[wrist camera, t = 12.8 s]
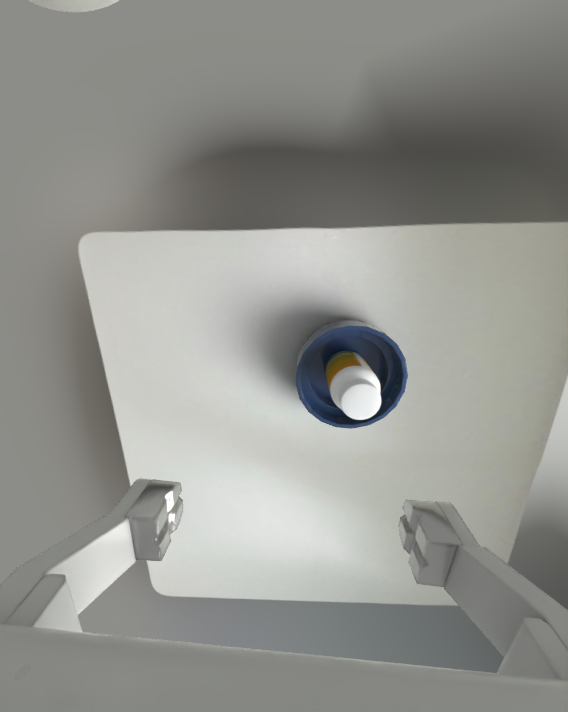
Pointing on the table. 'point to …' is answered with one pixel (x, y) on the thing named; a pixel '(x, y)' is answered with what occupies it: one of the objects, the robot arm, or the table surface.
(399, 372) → the blue bowl
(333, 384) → the supplement bottle
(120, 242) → the table surface
